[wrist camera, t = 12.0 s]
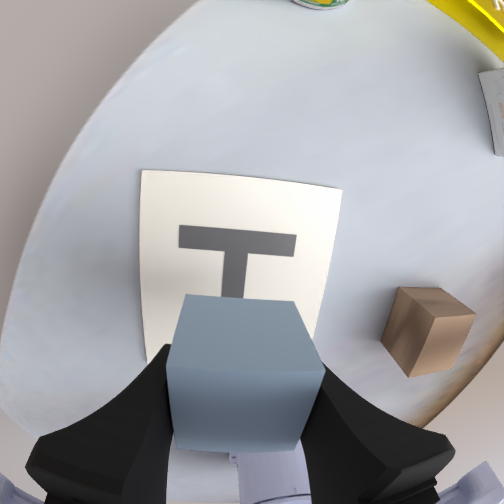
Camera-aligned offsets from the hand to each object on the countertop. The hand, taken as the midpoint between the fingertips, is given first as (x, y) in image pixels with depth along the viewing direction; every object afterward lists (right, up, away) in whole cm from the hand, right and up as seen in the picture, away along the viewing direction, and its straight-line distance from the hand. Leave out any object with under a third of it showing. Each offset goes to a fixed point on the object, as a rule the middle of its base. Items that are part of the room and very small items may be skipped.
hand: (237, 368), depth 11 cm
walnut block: (+14, -1, +10) cm, 17 cm away
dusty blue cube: (0, +1, +2) cm, 2 cm away
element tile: (+23, +32, +1) cm, 40 cm away
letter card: (-1, +2, +7) cm, 8 cm away
